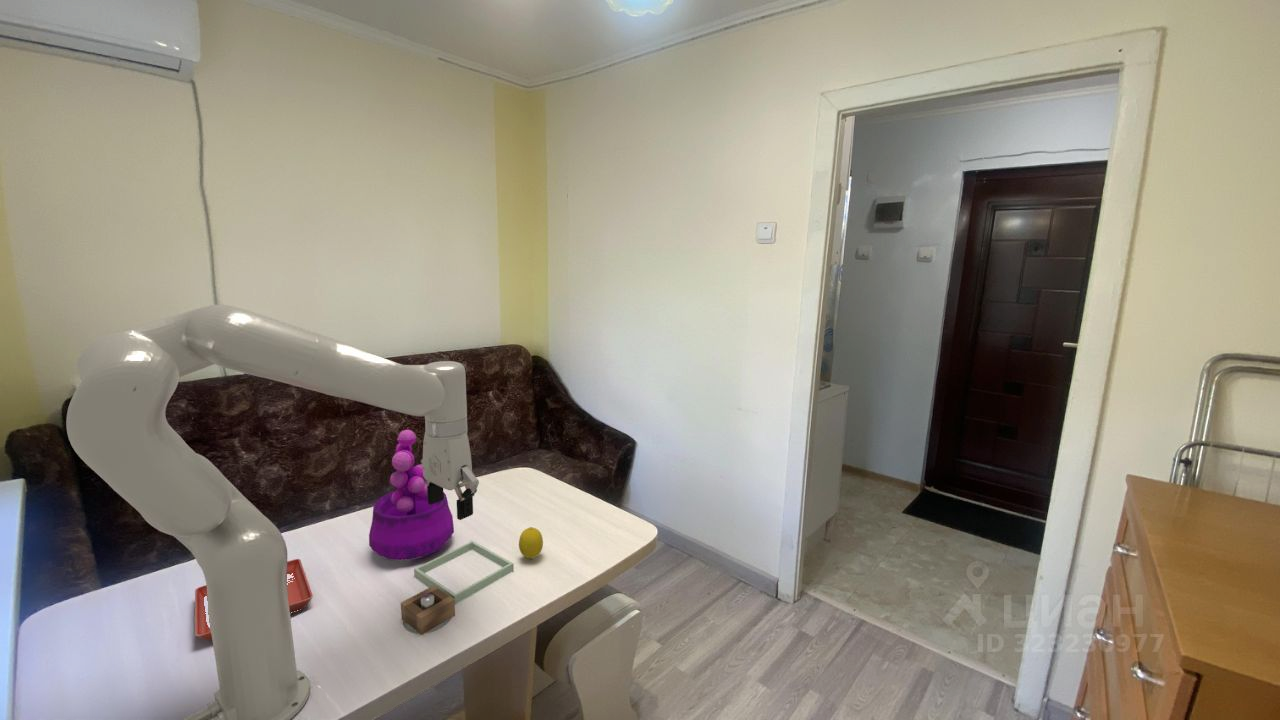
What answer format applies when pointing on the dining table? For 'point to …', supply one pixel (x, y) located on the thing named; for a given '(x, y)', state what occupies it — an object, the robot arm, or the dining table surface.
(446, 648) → the dining table surface
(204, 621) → the plant saucer
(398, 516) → the decorative plant
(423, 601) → the peg on round base
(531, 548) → the lemon
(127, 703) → the dining table surface
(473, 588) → the green rectangular frame
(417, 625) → the wooden square frame
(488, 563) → the dining table surface
